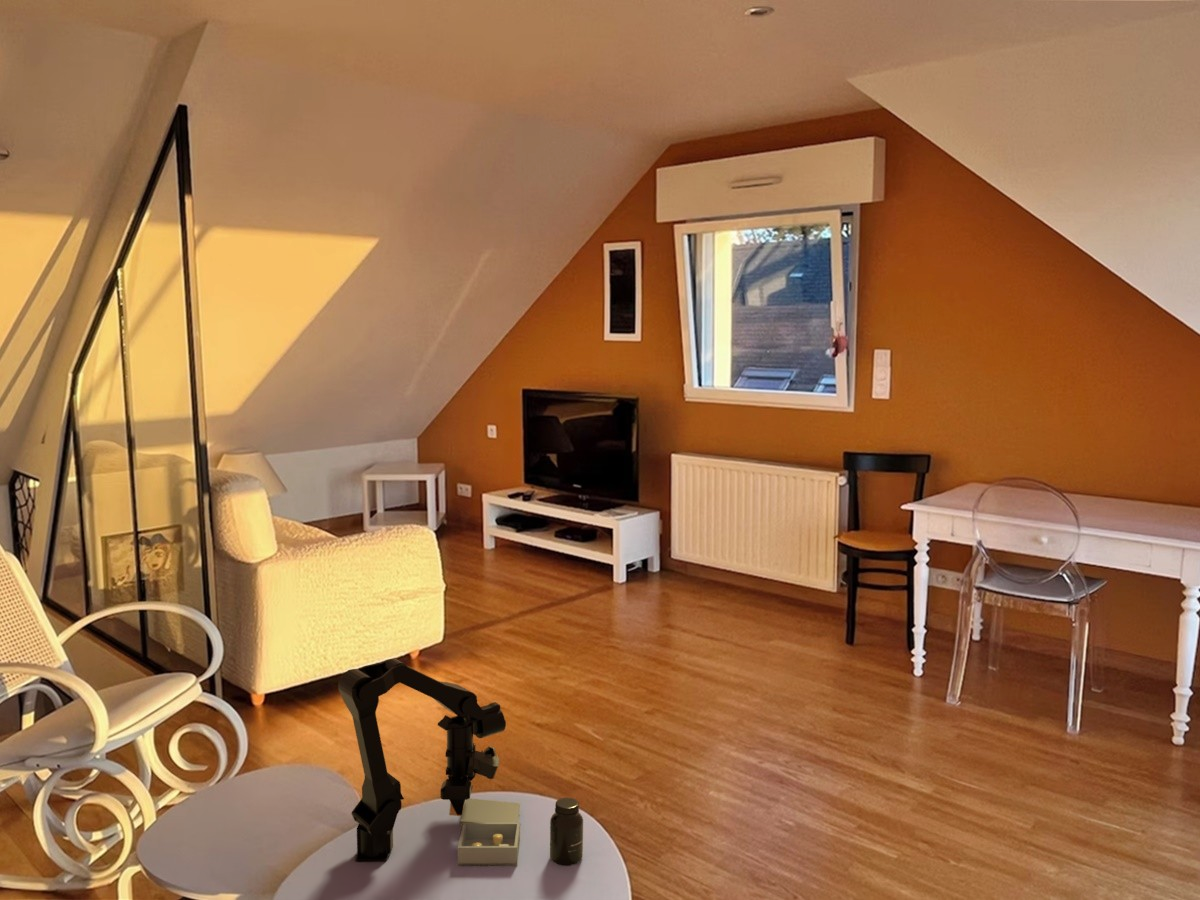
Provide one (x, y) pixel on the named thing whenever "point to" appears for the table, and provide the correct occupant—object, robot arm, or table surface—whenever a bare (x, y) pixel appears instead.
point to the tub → (489, 844)
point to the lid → (488, 811)
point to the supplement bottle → (566, 833)
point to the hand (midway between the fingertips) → (460, 810)
